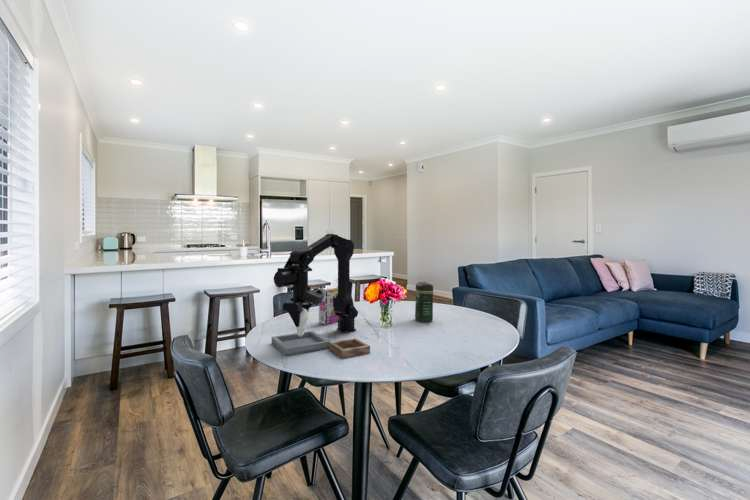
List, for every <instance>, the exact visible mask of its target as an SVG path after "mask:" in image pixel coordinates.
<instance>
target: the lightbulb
mask: <svg viewBox="0 0 750 500" xmlns="http://www.w3.org/2000/svg"><path fill="white" fill-rule="evenodd" d="M302 309H304V308H302ZM309 314H310V313H309V311H307V310H306V309H304V310H303V311H302V312H301V314H300V323H299V327H296V326H295V328H296V329H295V330H296V333H297V335H298V336H300V337H301V336H302V335H304V332H305V330H306V329H305V328H306V324H307V322H308V320H309Z"/></svg>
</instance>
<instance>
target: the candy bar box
mask: <svg viewBox="0 0 750 500" xmlns="http://www.w3.org/2000/svg"><path fill="white" fill-rule="evenodd" d="M319 289H320V290H322V291H323V297H324V298H323V299H322V301H321V303H320V304H318V305H319V306H318V324H321V325H324V326H327V325H330V324H333V323H338V320H339V316H336V314H335V311H334V307H333V298H335V297H336V296H337V294H338V286H330V287H322V288H319Z"/></svg>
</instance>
